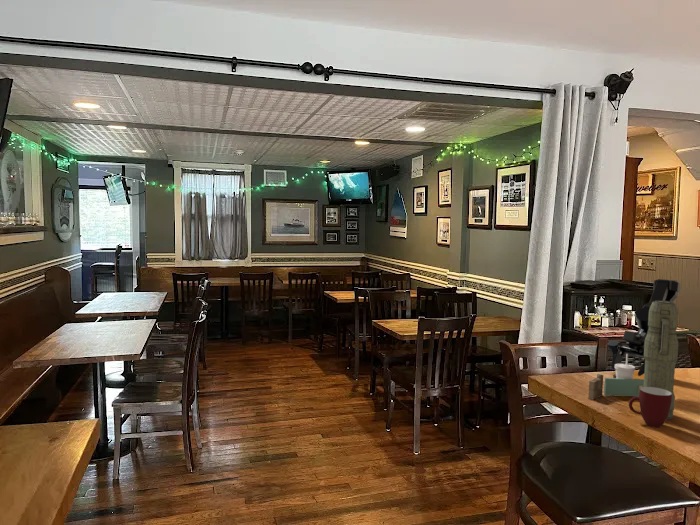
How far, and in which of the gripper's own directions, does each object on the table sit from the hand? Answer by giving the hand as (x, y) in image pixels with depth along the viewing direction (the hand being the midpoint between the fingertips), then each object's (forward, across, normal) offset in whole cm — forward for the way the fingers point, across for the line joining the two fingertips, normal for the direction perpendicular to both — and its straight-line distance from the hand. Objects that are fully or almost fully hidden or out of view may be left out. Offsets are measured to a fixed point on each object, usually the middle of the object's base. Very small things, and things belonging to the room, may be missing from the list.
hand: (625, 371), depth 175 cm
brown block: (+9, -4, +2) cm, 10 cm away
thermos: (+13, +17, -2) cm, 21 cm away
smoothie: (+6, 0, +6) cm, 8 cm away
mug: (+20, +20, -10) cm, 30 cm away
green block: (+8, +2, +3) cm, 8 cm away
